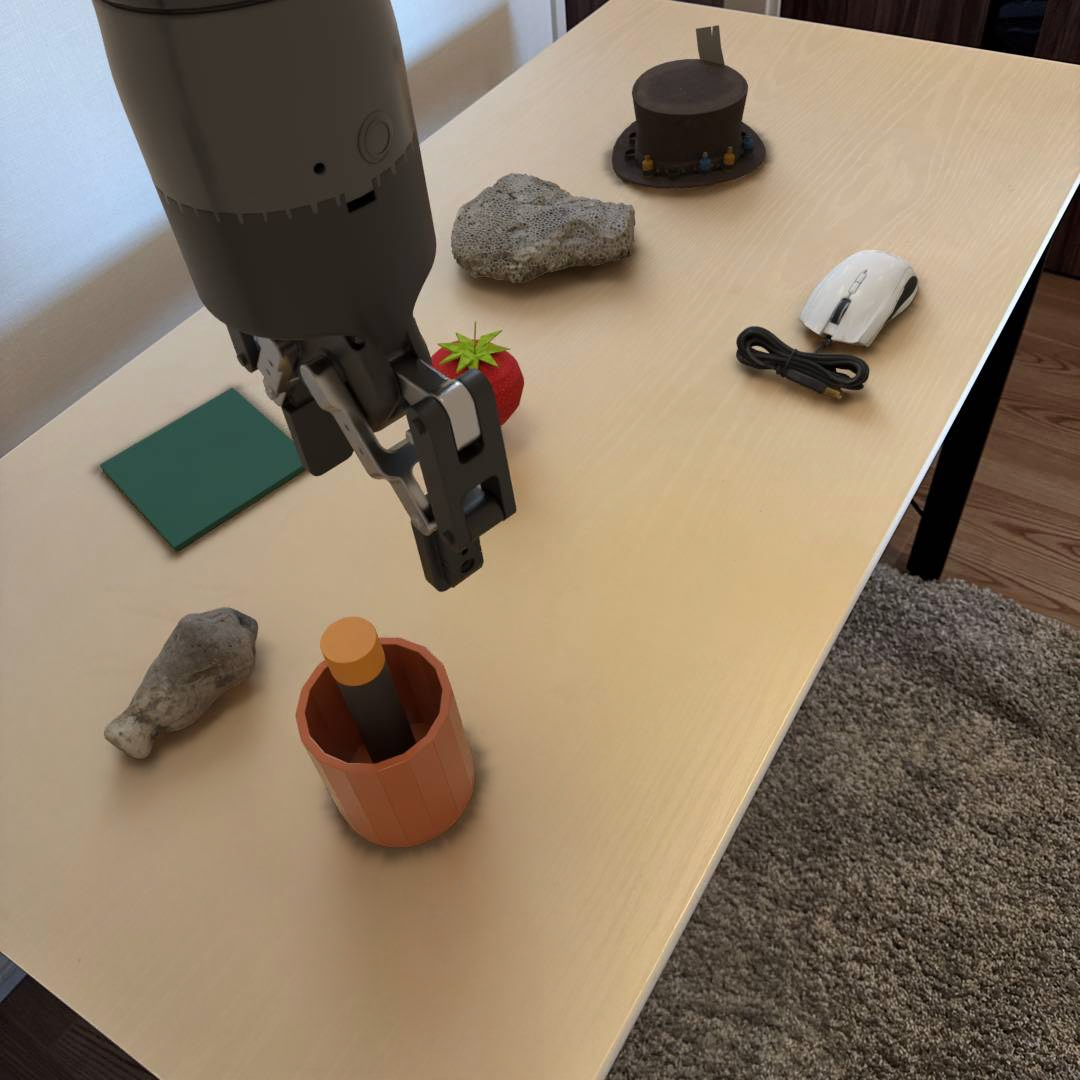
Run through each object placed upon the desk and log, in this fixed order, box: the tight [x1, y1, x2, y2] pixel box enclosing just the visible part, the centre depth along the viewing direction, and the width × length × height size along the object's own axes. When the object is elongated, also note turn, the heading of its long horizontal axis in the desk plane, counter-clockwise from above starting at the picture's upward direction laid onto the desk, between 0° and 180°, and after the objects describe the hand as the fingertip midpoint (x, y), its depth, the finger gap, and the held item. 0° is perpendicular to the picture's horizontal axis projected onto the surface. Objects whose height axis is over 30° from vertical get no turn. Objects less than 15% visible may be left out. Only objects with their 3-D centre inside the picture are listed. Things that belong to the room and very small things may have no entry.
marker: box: [319, 616, 416, 763], centre depth 53 cm, size 3×3×14 cm
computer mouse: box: [735, 249, 920, 400], centre depth 80 cm, size 10×18×4 cm, turn 144°
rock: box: [450, 172, 636, 284], centre depth 90 cm, size 15×16×5 cm
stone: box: [103, 606, 259, 759], centre depth 62 cm, size 10×5×8 cm
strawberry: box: [431, 320, 525, 427], centre depth 74 cm, size 6×8×10 cm
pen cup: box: [295, 636, 475, 848], centre depth 56 cm, size 8×8×9 cm
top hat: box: [611, 24, 767, 190], centre depth 96 cm, size 15×15×10 cm
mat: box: [99, 387, 306, 552], centre depth 78 cm, size 12×12×1 cm
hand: (390, 516), depth 41 cm, fingers open, 8 cm apart
